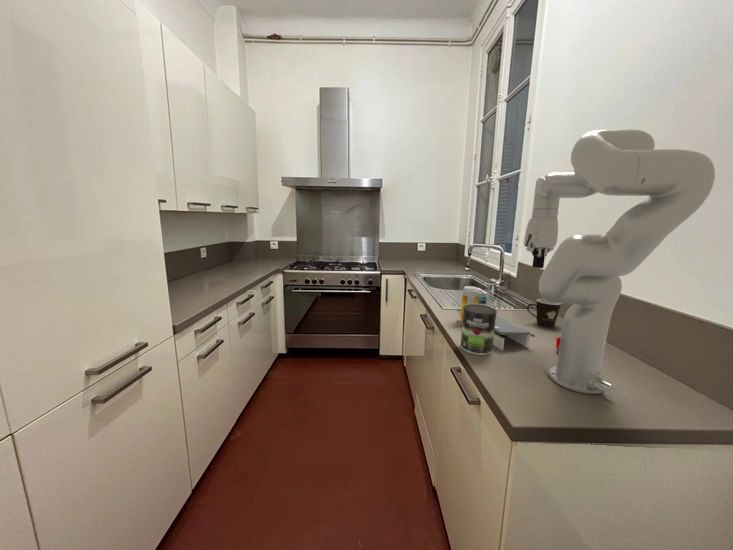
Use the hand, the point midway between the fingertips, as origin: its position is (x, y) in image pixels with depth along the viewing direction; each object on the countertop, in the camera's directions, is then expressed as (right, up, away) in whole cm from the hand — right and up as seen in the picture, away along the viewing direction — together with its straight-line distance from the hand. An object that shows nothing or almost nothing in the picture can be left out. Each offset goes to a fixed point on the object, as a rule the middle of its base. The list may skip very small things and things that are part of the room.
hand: (537, 267), depth 104 cm
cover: (-12, -21, +5) cm, 25 cm away
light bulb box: (-10, -20, +34) cm, 41 cm away
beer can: (-18, -23, +20) cm, 35 cm away
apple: (+6, -29, -6) cm, 30 cm away
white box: (-12, -26, +6) cm, 29 cm away
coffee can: (-23, -28, -4) cm, 36 cm away
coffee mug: (+13, -23, +20) cm, 33 cm away
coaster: (-18, -23, +20) cm, 35 cm away
